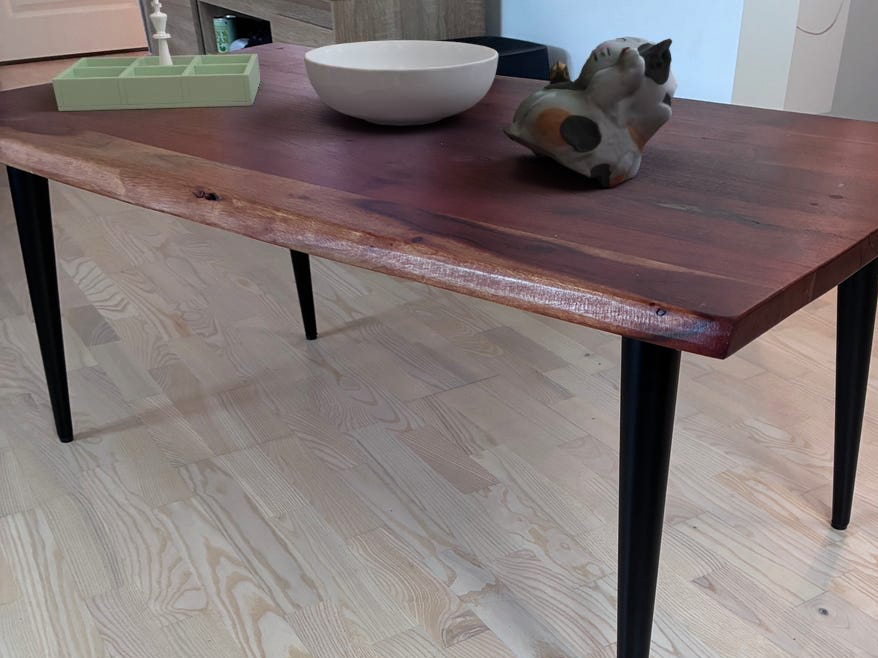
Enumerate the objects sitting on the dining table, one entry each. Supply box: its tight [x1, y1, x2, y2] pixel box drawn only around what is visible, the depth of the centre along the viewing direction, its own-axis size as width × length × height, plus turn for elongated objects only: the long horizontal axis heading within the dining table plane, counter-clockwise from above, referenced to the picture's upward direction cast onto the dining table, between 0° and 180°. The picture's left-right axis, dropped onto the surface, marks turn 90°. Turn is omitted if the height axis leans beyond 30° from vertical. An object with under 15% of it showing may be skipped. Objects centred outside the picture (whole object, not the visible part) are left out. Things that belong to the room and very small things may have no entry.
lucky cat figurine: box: [502, 36, 679, 188], centre depth 81 cm, size 15×12×14 cm
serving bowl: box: [303, 39, 499, 127], centre depth 101 cm, size 21×21×7 cm
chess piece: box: [149, 0, 173, 65], centre depth 113 cm, size 5×5×10 cm
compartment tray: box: [51, 53, 261, 112], centre depth 112 cm, size 22×15×4 cm
